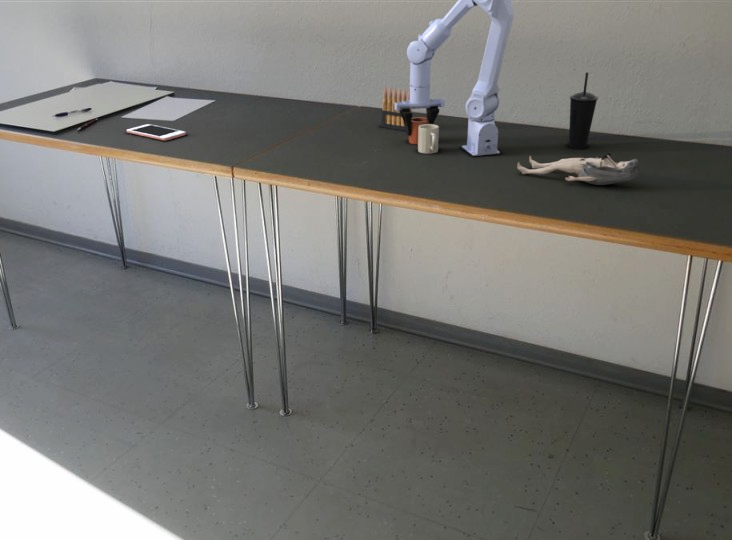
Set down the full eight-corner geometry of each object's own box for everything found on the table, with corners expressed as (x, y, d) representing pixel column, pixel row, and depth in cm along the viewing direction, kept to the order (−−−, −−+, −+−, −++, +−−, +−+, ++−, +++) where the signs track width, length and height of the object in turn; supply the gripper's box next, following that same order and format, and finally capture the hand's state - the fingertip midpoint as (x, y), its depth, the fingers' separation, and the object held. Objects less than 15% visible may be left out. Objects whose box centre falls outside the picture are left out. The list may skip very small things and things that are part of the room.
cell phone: (164, 141, 242) (164, 138, 242) (126, 132, 252) (125, 129, 251) (186, 134, 248) (186, 131, 248) (148, 126, 258) (147, 123, 257)
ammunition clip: (412, 130, 249) (413, 89, 242) (409, 131, 247) (410, 90, 241) (384, 125, 254) (384, 85, 248) (381, 126, 253) (381, 86, 247)
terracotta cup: (430, 143, 235) (431, 121, 232) (412, 145, 234) (412, 122, 231) (422, 136, 242) (422, 115, 238) (404, 138, 241) (404, 116, 237)
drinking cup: (592, 150, 226) (602, 75, 215) (564, 149, 227) (573, 75, 217) (590, 143, 232) (600, 70, 222) (563, 142, 234) (572, 69, 223)
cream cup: (415, 149, 230) (415, 124, 227) (434, 147, 232) (435, 123, 228) (424, 156, 224) (425, 131, 220) (443, 154, 225) (444, 130, 222)
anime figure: (531, 148, 212) (646, 149, 195) (532, 176, 216) (644, 180, 198) (515, 157, 206) (631, 159, 188) (516, 185, 209) (631, 190, 192)
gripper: (439, 81, 234) (437, 128, 241) (391, 84, 231) (391, 132, 238) (447, 85, 228) (445, 134, 235) (398, 89, 225) (398, 138, 232)
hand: (418, 133), depth 236 cm, fingers closed on terracotta cup, 6 cm apart
